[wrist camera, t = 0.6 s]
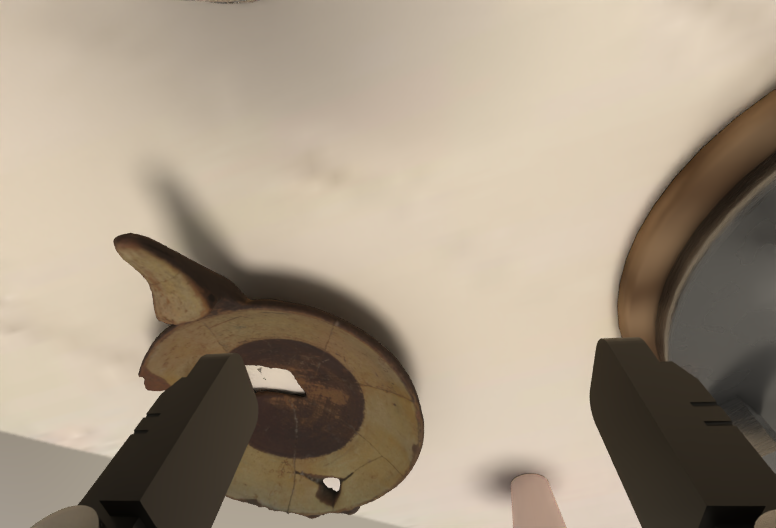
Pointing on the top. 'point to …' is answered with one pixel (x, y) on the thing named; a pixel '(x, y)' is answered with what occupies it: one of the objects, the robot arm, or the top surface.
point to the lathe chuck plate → (730, 307)
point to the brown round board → (689, 213)
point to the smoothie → (534, 503)
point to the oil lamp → (283, 411)
